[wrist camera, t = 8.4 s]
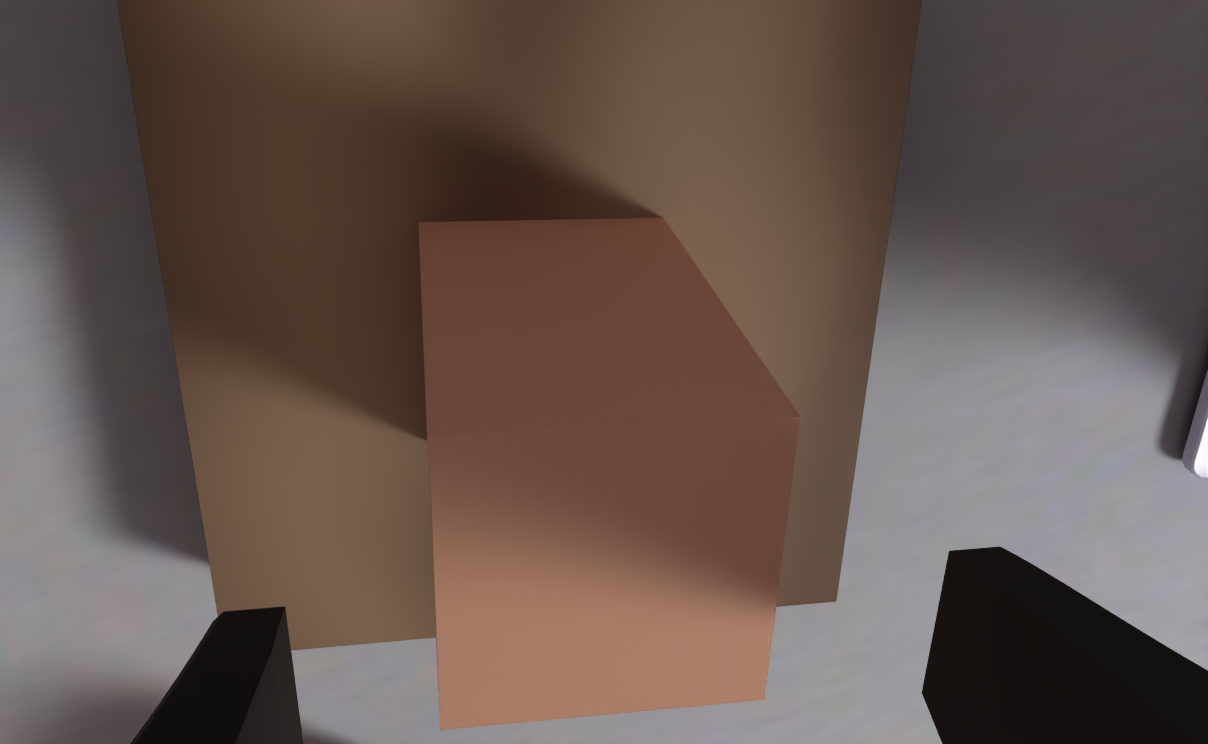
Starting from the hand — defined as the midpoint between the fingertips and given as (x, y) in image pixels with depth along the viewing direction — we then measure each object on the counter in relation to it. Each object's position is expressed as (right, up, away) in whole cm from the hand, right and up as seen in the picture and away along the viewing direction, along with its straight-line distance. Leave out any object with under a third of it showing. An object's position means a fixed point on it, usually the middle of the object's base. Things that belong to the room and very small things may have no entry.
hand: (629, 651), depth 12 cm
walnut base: (-2, +5, +9) cm, 10 cm away
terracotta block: (-1, +4, +7) cm, 8 cm away
